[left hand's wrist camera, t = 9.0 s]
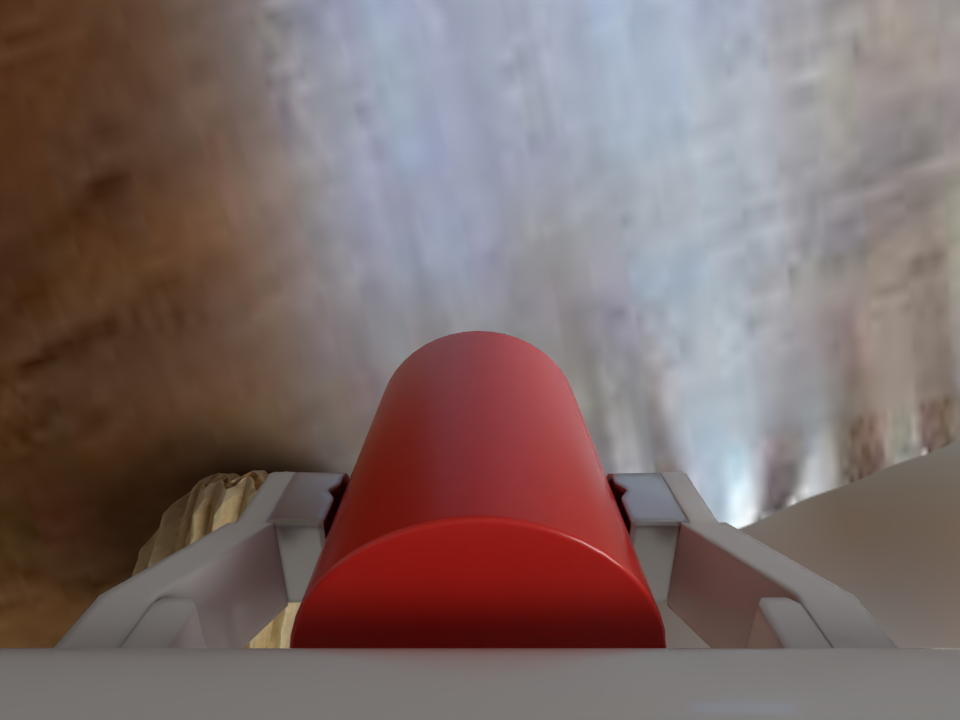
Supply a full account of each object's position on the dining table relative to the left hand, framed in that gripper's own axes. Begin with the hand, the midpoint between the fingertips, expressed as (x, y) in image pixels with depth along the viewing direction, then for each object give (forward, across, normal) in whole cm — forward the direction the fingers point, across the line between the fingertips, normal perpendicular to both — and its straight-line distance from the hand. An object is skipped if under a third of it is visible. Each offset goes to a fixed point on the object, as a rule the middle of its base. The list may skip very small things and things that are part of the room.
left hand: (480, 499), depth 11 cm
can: (+3, 0, 0) cm, 3 cm away
